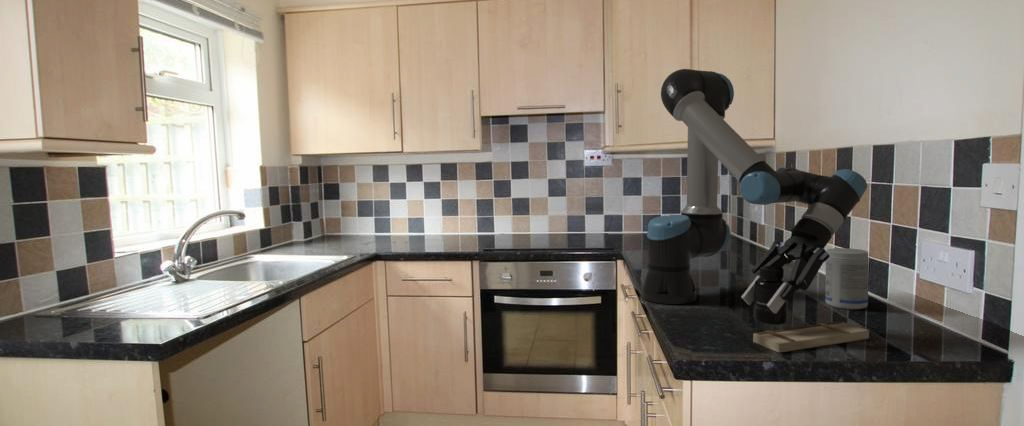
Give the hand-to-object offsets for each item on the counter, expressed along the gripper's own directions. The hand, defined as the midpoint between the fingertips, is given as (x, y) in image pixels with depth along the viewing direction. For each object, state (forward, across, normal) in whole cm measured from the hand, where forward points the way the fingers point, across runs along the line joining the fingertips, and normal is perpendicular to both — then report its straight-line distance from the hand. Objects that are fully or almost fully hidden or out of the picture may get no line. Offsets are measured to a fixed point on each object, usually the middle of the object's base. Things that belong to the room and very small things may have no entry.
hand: (758, 305), depth 115 cm
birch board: (0, -7, -10) cm, 12 cm away
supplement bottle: (+1, 0, -6) cm, 6 cm away
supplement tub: (-22, +10, -32) cm, 41 cm away
